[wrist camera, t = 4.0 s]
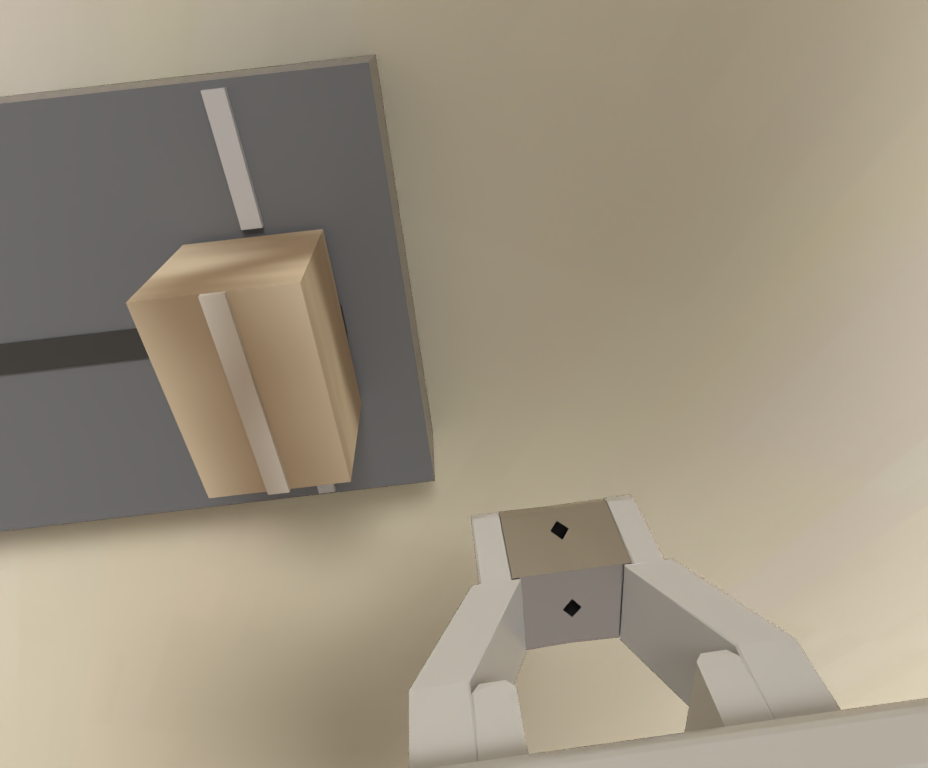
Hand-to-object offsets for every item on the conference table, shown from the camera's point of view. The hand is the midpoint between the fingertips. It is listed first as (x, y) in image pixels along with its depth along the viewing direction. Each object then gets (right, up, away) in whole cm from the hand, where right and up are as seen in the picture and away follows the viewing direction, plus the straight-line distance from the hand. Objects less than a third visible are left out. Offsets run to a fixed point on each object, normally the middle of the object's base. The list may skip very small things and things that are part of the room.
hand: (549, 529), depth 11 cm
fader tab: (-7, +4, +7) cm, 11 cm away
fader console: (-16, +5, +10) cm, 20 cm away
